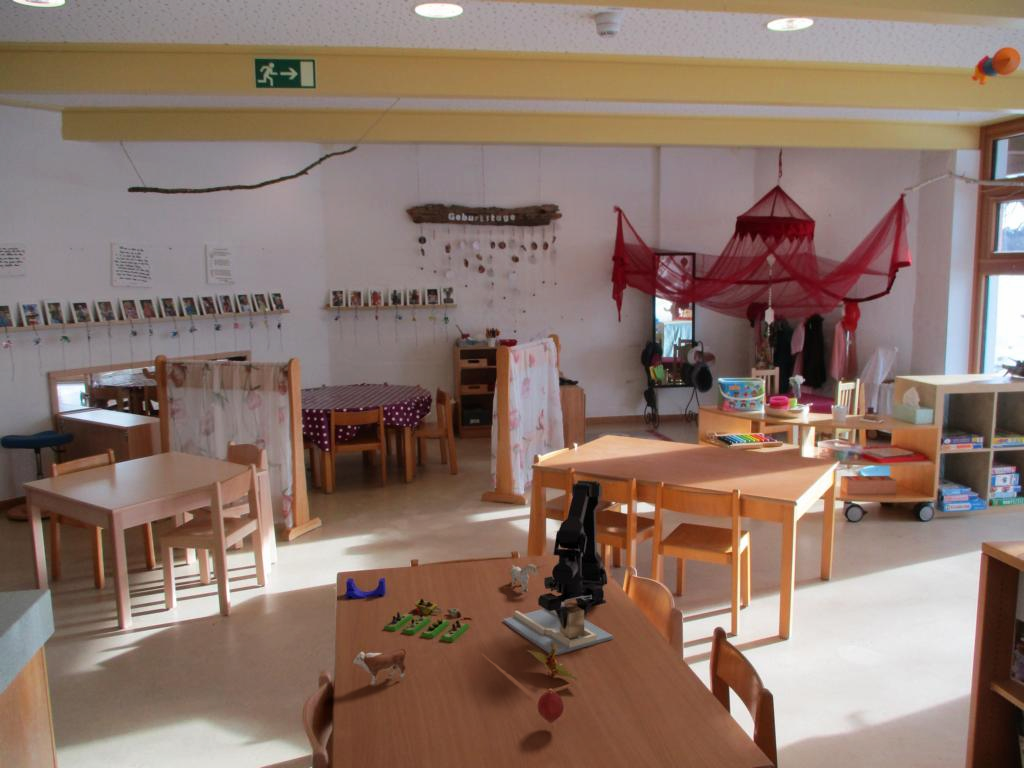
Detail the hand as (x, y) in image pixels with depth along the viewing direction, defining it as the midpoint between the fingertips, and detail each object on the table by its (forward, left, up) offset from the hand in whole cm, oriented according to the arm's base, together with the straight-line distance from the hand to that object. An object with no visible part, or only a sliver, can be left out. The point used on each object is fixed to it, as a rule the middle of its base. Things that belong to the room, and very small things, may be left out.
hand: (571, 626), depth 223 cm
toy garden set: (+27, -32, -5) cm, 43 cm away
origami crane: (+17, +11, -5) cm, 21 cm away
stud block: (0, 0, -2) cm, 2 cm away
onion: (+29, +34, -4) cm, 45 cm away
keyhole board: (0, -8, -4) cm, 9 cm away
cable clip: (+38, -63, -4) cm, 73 cm away
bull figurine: (+54, -6, -4) cm, 55 cm away
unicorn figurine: (-8, -39, -4) cm, 40 cm away
